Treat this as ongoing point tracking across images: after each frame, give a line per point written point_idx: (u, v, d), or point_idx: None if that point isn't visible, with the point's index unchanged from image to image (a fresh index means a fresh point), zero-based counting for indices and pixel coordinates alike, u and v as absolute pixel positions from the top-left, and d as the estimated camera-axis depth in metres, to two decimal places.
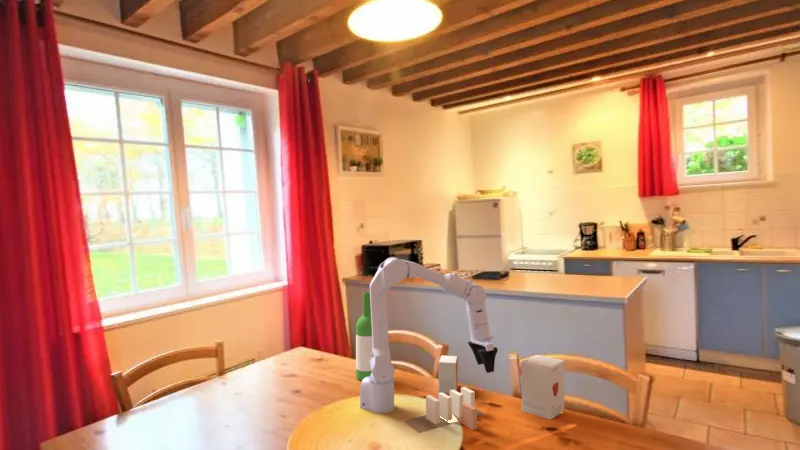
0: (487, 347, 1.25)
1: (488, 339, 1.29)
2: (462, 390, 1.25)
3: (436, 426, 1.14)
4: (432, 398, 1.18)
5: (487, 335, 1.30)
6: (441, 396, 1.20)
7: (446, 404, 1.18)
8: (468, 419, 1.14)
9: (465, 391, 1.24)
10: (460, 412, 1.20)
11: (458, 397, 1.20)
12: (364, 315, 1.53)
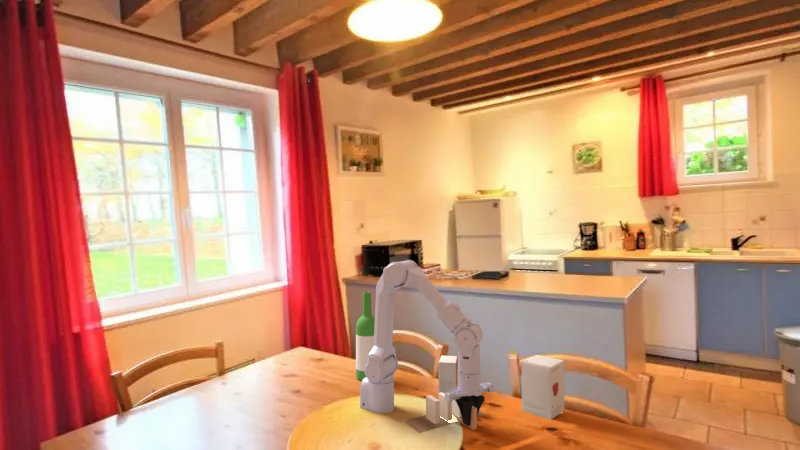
0: (445, 395, 1.12)
1: (464, 392, 1.12)
2: None
3: (436, 426, 1.14)
4: (432, 398, 1.18)
5: (465, 387, 1.12)
6: (441, 396, 1.20)
7: (446, 404, 1.18)
8: None
9: None
10: (460, 412, 1.20)
11: None
12: (364, 315, 1.53)
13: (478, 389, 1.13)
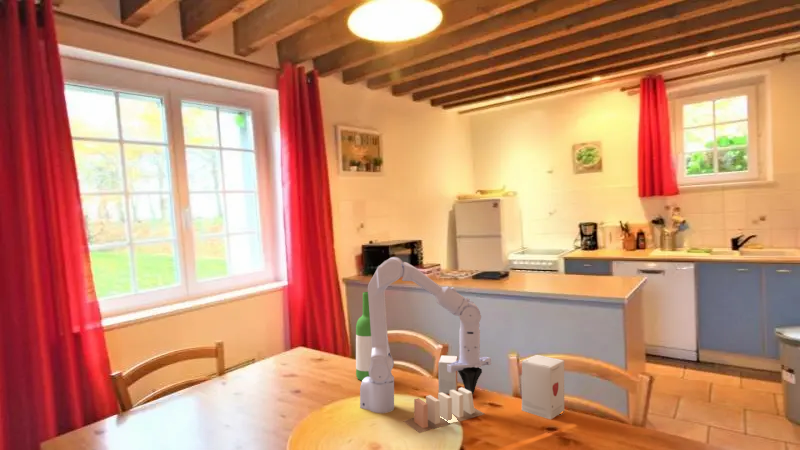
0: (447, 367, 1.22)
1: (465, 364, 1.22)
2: (459, 391, 1.25)
3: (436, 426, 1.14)
4: (432, 398, 1.18)
5: (465, 360, 1.22)
6: (441, 396, 1.20)
7: (446, 404, 1.18)
8: (419, 414, 1.15)
9: (462, 392, 1.23)
10: (460, 412, 1.20)
11: (458, 397, 1.20)
12: (364, 315, 1.53)
13: (478, 361, 1.23)
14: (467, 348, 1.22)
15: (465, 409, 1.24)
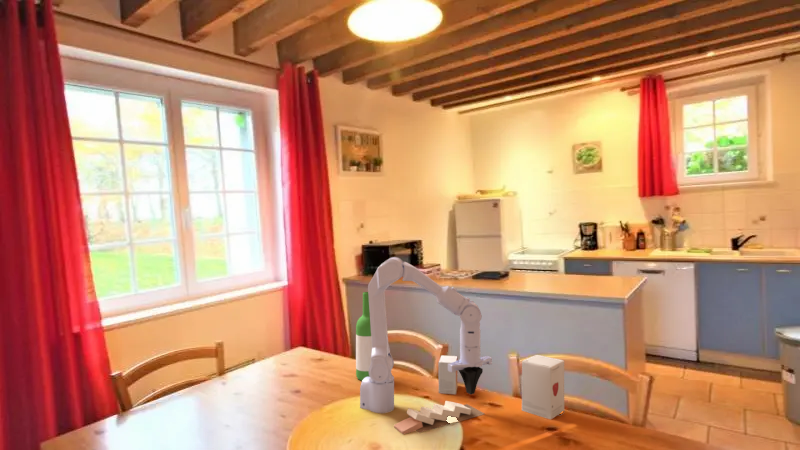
0: (448, 367, 1.22)
1: (466, 363, 1.22)
2: (447, 406, 1.22)
3: (436, 426, 1.14)
4: (411, 414, 1.14)
5: (466, 359, 1.22)
6: (424, 414, 1.17)
7: None
8: None
9: (449, 408, 1.21)
10: (455, 415, 1.19)
11: (442, 414, 1.17)
12: (364, 315, 1.53)
13: (478, 361, 1.23)
14: (468, 348, 1.22)
15: None
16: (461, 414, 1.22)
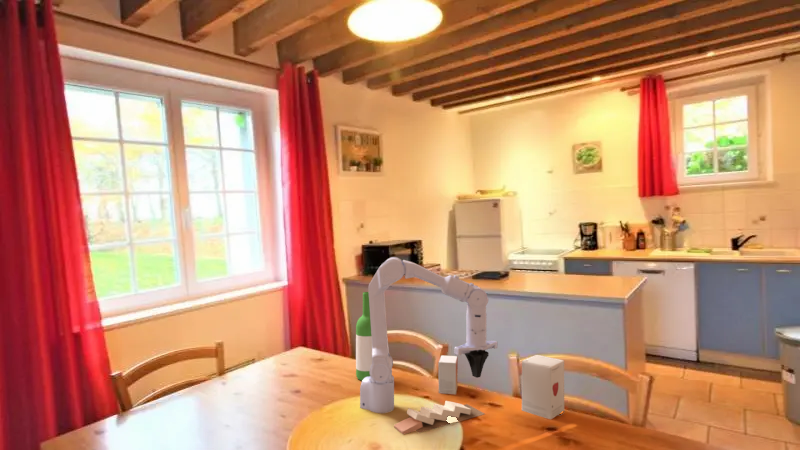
0: (454, 350, 1.23)
1: (472, 347, 1.24)
2: (447, 406, 1.22)
3: (436, 426, 1.14)
4: (411, 414, 1.14)
5: (472, 342, 1.24)
6: (424, 414, 1.17)
7: None
8: None
9: (449, 408, 1.21)
10: (455, 415, 1.19)
11: (442, 414, 1.17)
12: (364, 315, 1.53)
13: (484, 344, 1.24)
14: (474, 331, 1.24)
15: None
16: (461, 414, 1.22)
